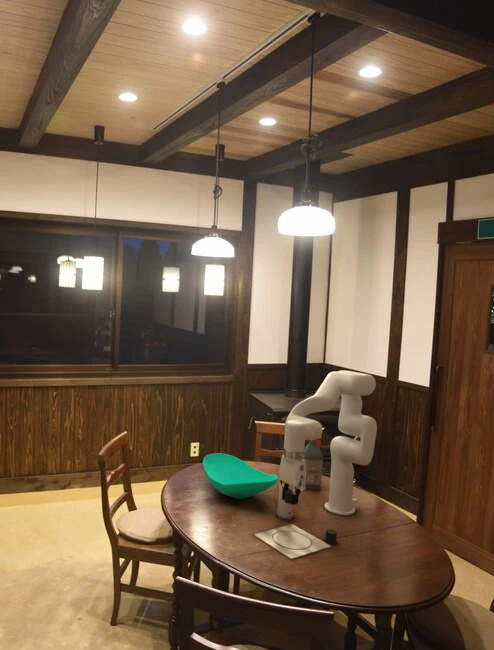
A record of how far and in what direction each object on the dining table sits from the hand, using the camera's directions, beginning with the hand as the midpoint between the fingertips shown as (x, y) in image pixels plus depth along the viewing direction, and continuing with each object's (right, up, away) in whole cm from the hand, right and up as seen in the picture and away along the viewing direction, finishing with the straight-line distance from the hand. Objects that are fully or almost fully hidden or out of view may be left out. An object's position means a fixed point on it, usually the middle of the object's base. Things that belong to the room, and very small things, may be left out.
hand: (289, 501), depth 202 cm
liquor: (+20, -12, +54) cm, 59 cm away
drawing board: (0, -14, -3) cm, 14 cm away
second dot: (+15, -15, -2) cm, 21 cm away
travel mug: (+2, -13, +18) cm, 22 cm away
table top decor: (-16, -11, +38) cm, 42 cm away
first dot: (0, 0, 0) cm, 0 cm away
